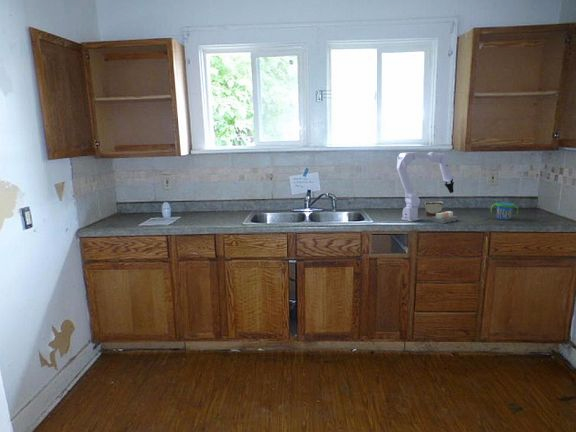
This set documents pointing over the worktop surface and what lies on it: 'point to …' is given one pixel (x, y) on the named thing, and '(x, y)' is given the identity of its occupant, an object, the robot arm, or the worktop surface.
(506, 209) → the snack cup
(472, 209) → the worktop surface
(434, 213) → the half round cake
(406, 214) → the robot arm
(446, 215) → the key terracotta
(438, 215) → the key sage
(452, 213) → the key cream
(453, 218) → the key console
